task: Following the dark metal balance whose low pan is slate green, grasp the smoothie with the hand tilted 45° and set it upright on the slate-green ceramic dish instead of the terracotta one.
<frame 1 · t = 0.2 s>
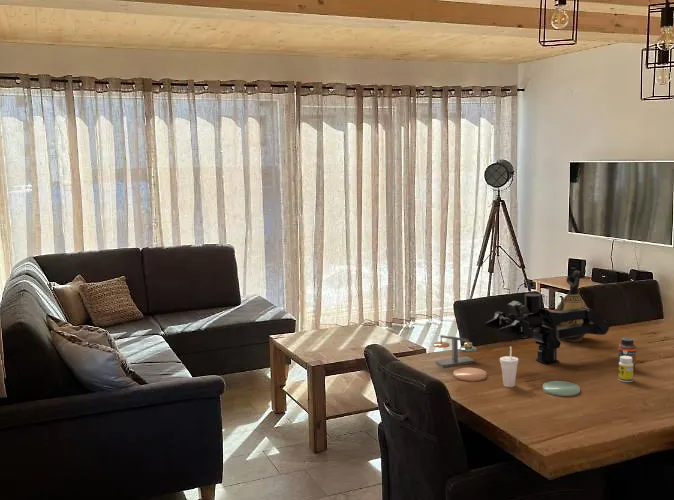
hand: (491, 327, 246), 17 cm above the table, tool horizontal, fingers open, 9 cm apart
ceramic jug: (572, 339, 288), on the table
green dish: (561, 390, 225), on the table
supplement bottle: (625, 380, 233), on the table
terracotta dish: (470, 375, 243), on the table
balance: (454, 363, 259), on the table
supplement bottle 2: (626, 369, 246), on the table
smoothie: (509, 386, 232), on the table
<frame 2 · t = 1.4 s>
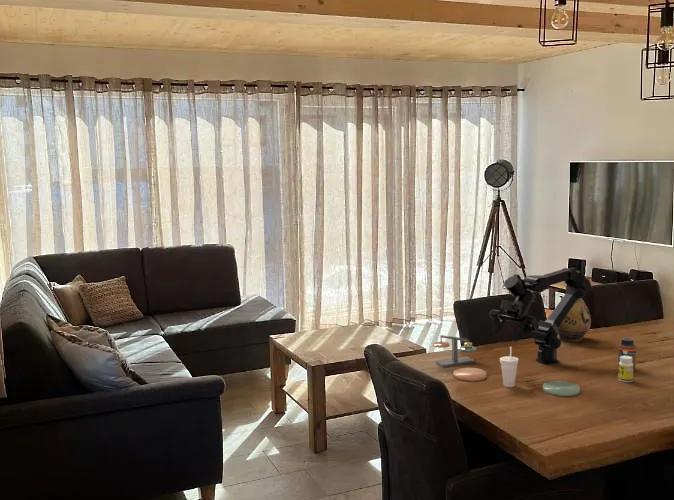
hand: (503, 338, 241), 14 cm above the table, tool tilted 45°, fingers open, 9 cm apart
nothing on the table moved.
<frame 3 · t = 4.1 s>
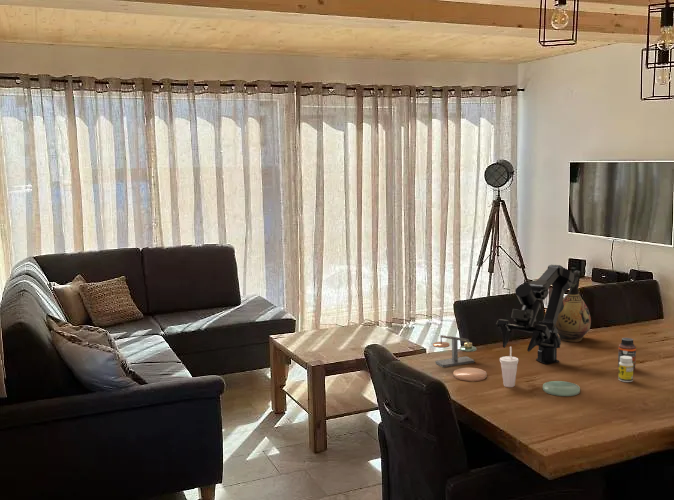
hand: (515, 349, 234), 12 cm above the table, tool tilted 45°, fingers open, 9 cm apart
nothing on the table moved.
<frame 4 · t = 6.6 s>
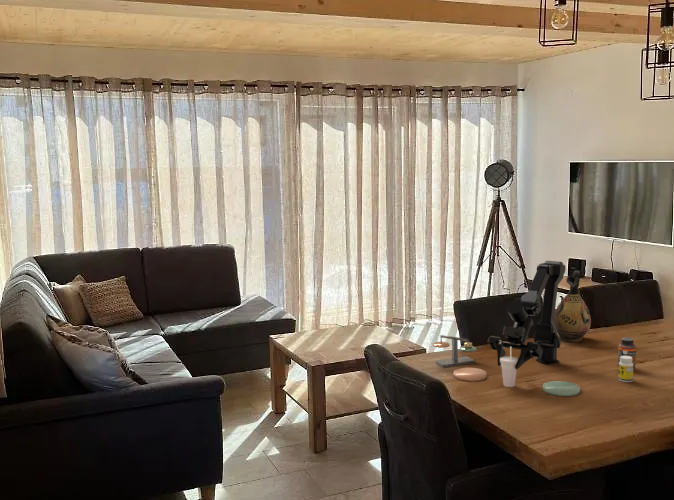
hand: (507, 367, 230), 7 cm above the table, tool tilted 45°, fingers closed on smoothie, 6 cm apart
smoothie: (509, 385, 232), on the table, touching gripper
everything else where it was.
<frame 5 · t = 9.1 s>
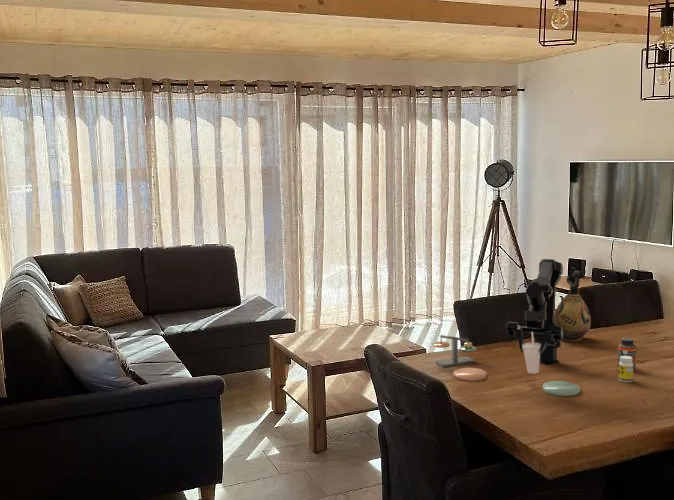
hand: (530, 352, 225), 13 cm above the table, tool tilted 45°, fingers closed on smoothie, 6 cm apart
smoothie: (533, 372, 227), point 6 cm above the table, touching gripper
everything else where it was.
when the fingers open (9 cm above the table, at t = 12.0 s): smoothie stays where it is, resting on green dish.
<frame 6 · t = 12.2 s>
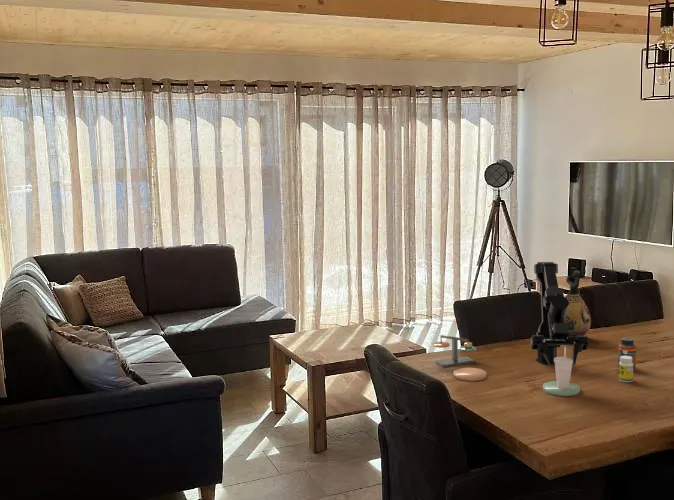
hand: (562, 364, 223), 9 cm above the table, tool tilted 45°, fingers open, 8 cm apart
smoothie: (563, 387, 225), point 1 cm above the table, touching green dish, gripper
everything else where it was.
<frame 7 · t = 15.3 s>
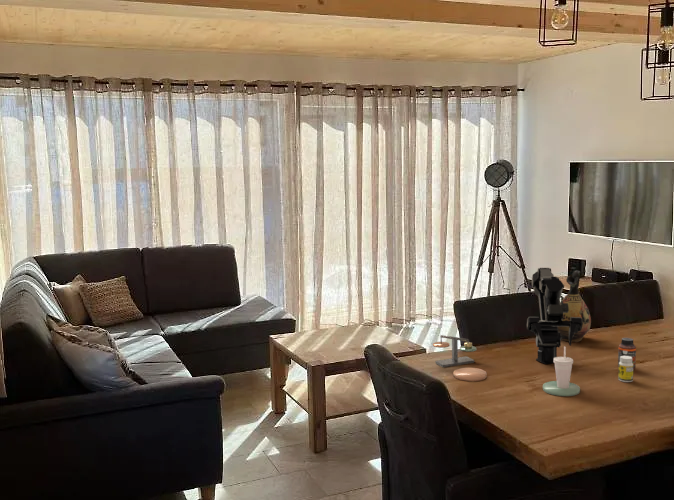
hand: (556, 344, 232), 14 cm above the table, tool tilted 45°, fingers open, 9 cm apart
smoothie: (563, 387, 225), point 1 cm above the table, touching green dish
everything else where it was.
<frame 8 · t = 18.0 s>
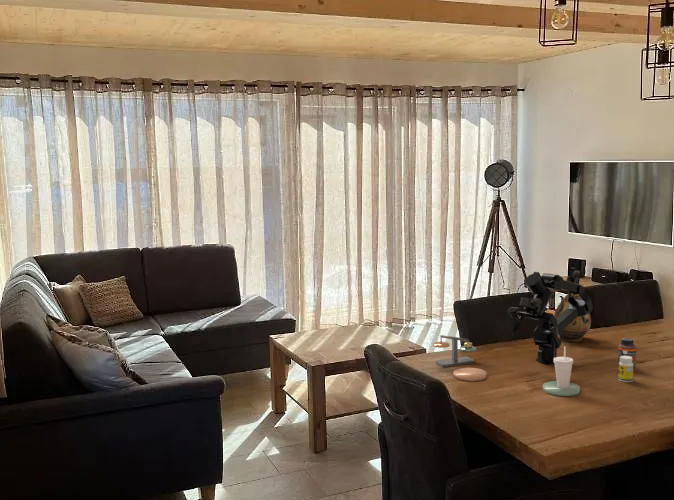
hand: (522, 335, 245), 14 cm above the table, tool tilted 45°, fingers open, 9 cm apart
nothing on the table moved.
at the end: smoothie inside the target area on the green dish (0.6 cm from its centre), point 1.0 cm above the green dish's base; smoothie tilted 0°; the gripper is holding nothing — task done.
